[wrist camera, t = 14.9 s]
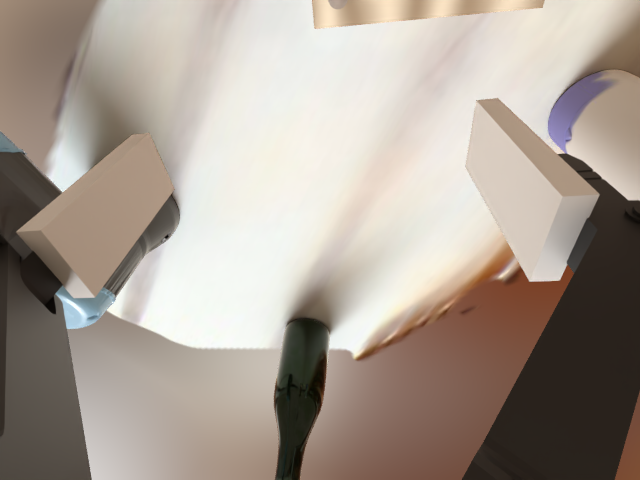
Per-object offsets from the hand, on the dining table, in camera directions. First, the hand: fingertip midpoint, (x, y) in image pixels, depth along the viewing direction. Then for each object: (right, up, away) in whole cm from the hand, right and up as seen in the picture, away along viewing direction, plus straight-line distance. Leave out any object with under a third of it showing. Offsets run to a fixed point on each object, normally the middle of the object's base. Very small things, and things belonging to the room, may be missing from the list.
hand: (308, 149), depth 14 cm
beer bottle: (-2, -25, +65) cm, 70 cm away
